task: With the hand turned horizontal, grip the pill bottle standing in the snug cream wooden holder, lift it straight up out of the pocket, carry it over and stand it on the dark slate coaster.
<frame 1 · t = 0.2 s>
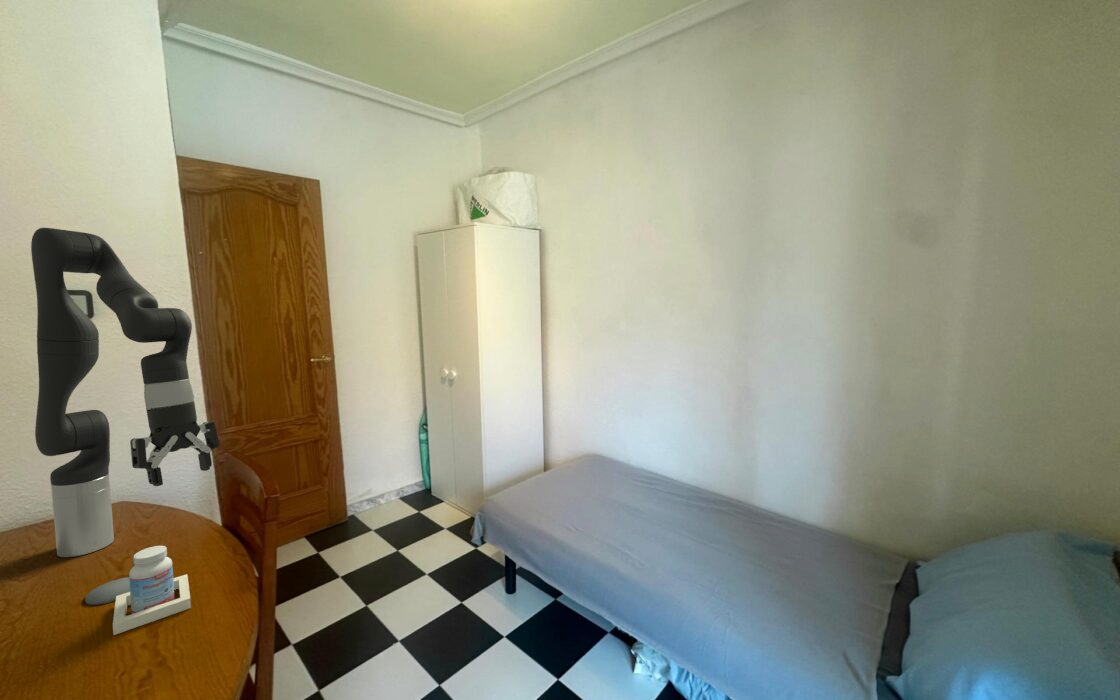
hand: (182, 477, 90), 22 cm above the table, tool pointing down, fingers open, 8 cm apart
coaster: (114, 591, 87), on the table
holder: (153, 606, 82), on the table
pill bottle: (154, 607, 82), resting in holder
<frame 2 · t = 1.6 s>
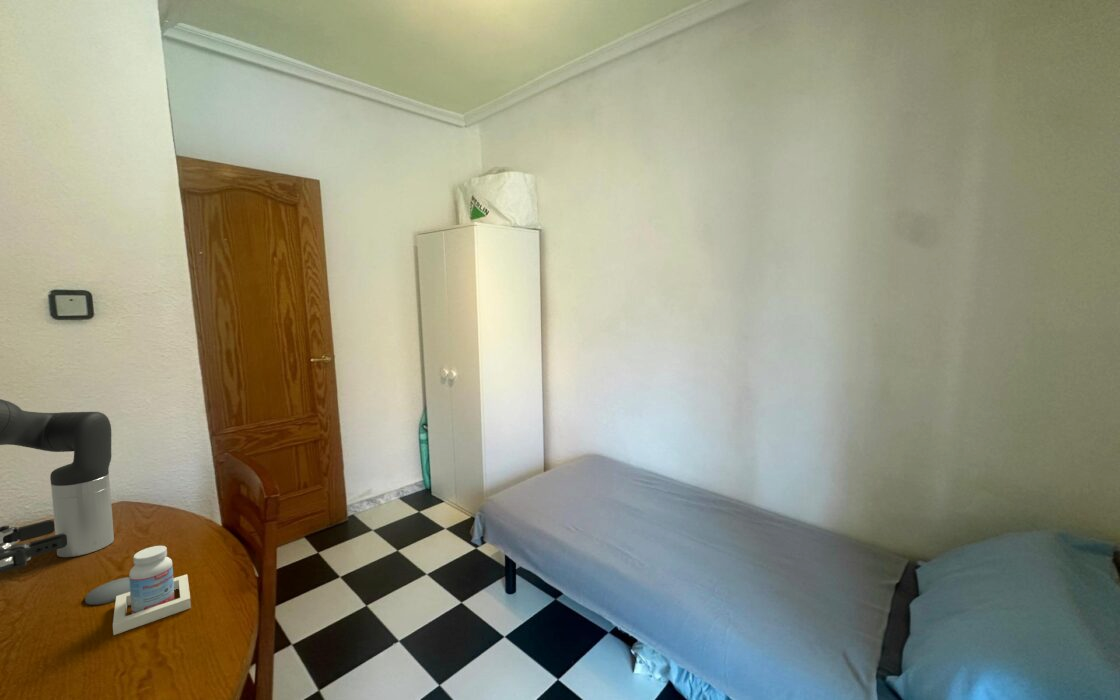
hand: (59, 532, 71), 20 cm above the table, tool horizontal, fingers open, 8 cm apart
nothing on the table moved.
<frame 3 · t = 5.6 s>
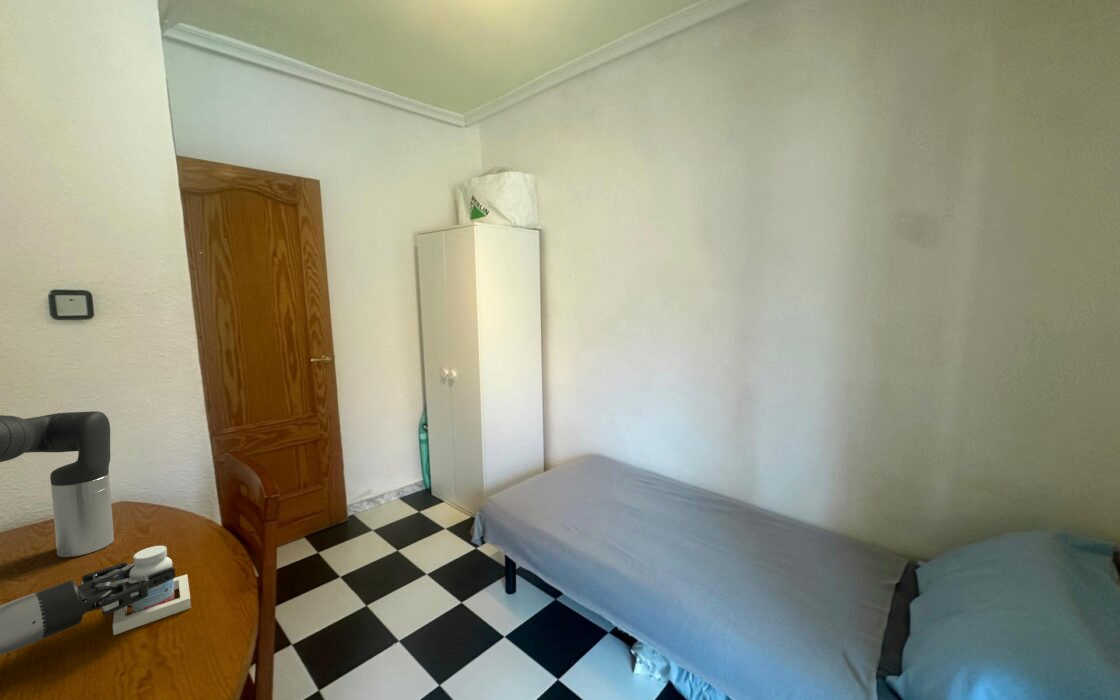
hand: (167, 566, 84), 7 cm above the table, tool horizontal, fingers closed on pill bottle, 6 cm apart
pill bottle: (154, 607, 82), resting in holder, touching gripper
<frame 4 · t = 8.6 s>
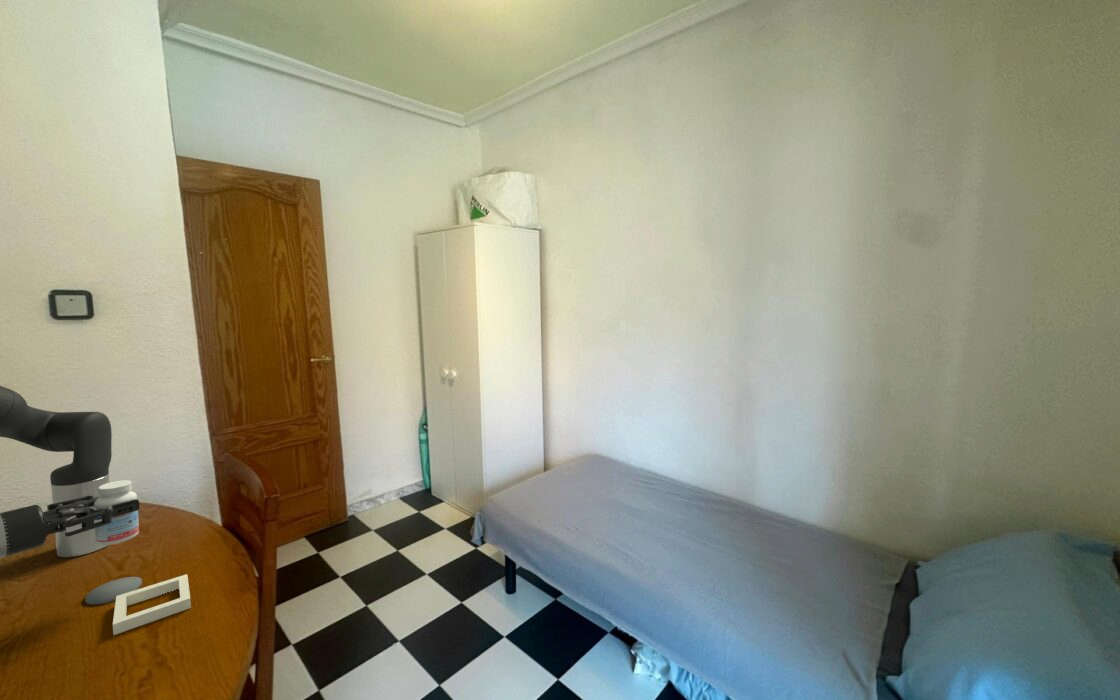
hand: (132, 500, 87), 19 cm above the table, tool horizontal, fingers closed on pill bottle, 6 cm apart
pill bottle: (118, 539, 86), point 11 cm above the table, touching gripper
when the fingers open (8 cm above the table, at t = 11.4 s): pill bottle stays where it is, resting on coaster.
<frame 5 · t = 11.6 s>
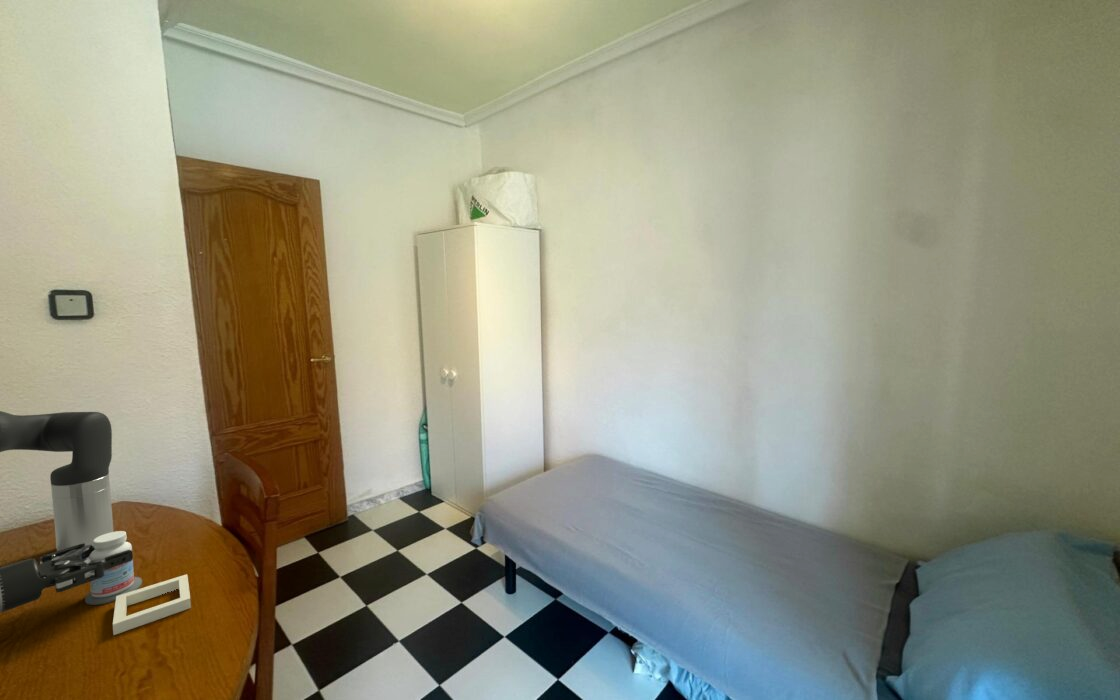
hand: (125, 548, 88), 8 cm above the table, tool horizontal, fingers open, 8 cm apart
pill bottle: (113, 590, 87), resting on coaster
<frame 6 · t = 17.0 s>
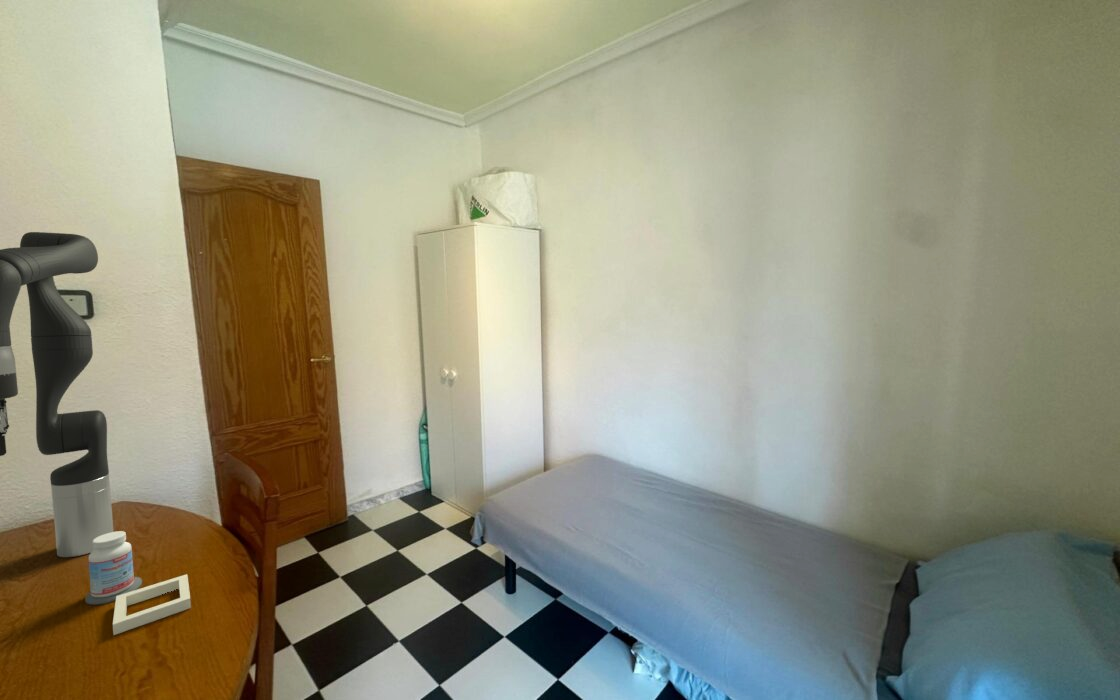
nothing on the table moved.
at the end: pill bottle 0.2 cm from the coaster (horizontally); pill bottle tilted 0°; the gripper is holding nothing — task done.
